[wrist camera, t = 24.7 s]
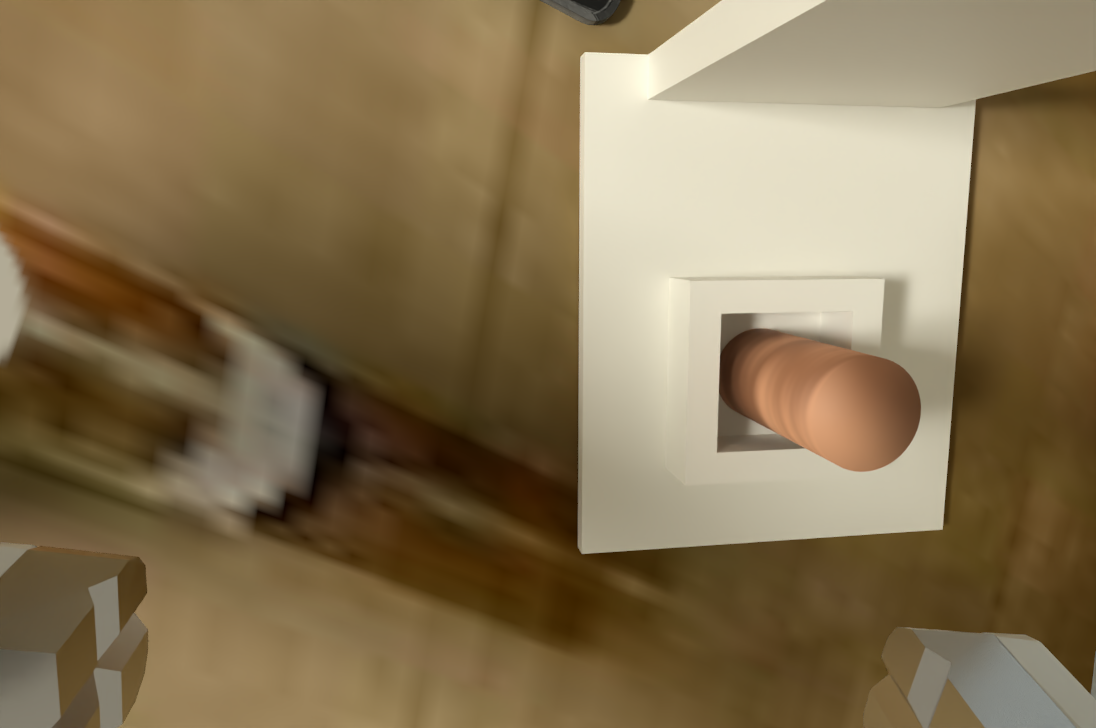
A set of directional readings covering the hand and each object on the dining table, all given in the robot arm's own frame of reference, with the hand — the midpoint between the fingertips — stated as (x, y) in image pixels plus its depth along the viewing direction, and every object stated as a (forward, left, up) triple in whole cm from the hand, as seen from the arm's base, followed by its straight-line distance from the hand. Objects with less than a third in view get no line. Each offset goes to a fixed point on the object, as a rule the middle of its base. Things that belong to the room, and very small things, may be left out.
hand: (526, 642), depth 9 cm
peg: (+14, -9, -30) cm, 34 cm away
